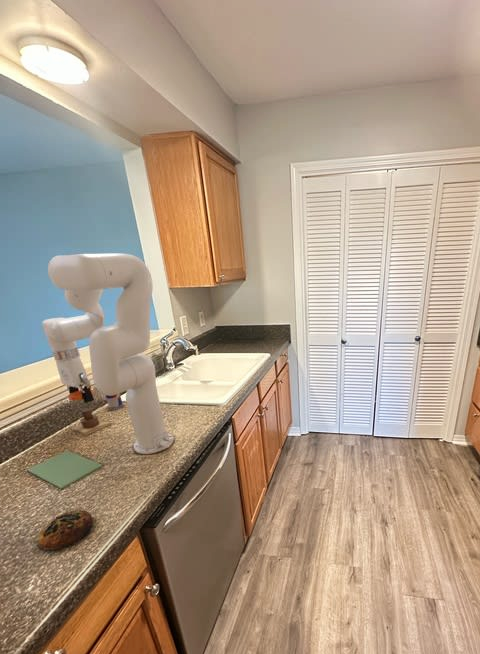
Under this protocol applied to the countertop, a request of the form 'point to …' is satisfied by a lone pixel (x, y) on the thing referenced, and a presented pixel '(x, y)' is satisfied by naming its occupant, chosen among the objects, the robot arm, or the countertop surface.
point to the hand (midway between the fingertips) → (83, 399)
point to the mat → (64, 469)
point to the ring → (77, 395)
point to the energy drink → (114, 401)
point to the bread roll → (65, 529)
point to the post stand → (90, 423)
